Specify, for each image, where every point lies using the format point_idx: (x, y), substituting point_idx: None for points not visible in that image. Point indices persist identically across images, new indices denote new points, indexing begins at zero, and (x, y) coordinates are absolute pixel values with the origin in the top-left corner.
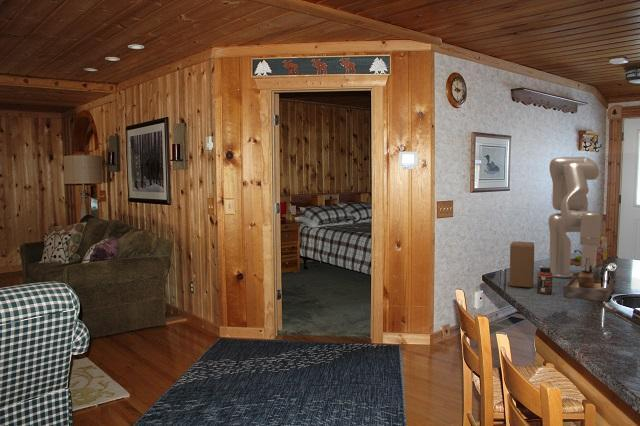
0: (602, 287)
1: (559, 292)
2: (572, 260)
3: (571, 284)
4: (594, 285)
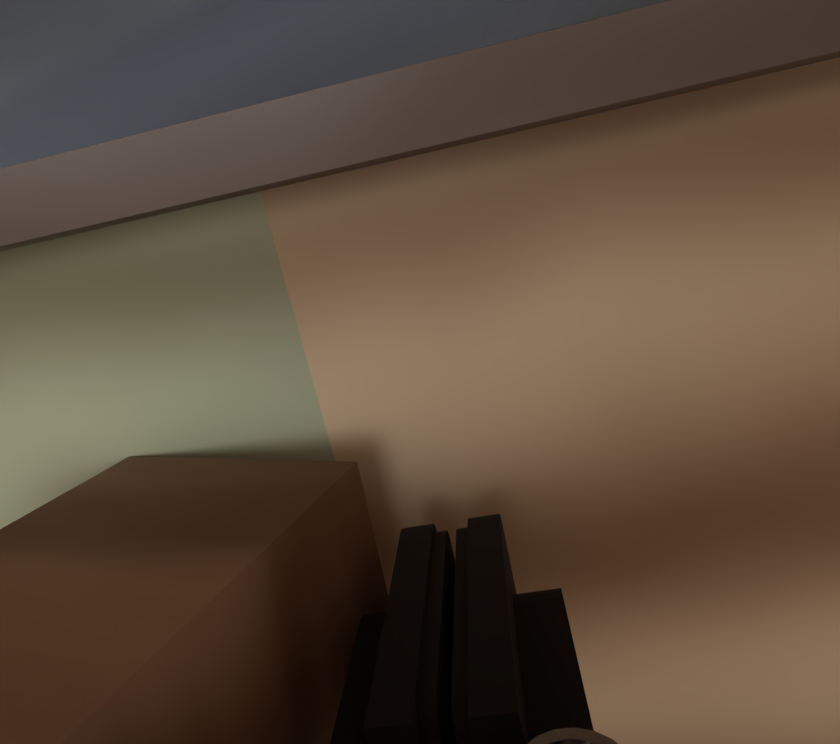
0: (625, 737)
1: (188, 4)
2: None
3: (502, 143)
4: (746, 587)
